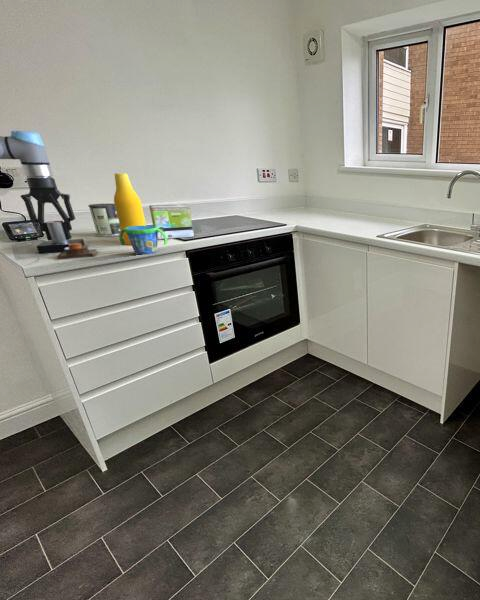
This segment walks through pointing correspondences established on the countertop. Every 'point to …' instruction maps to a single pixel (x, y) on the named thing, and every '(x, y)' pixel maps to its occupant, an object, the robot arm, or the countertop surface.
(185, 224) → the tea box
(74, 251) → the button block
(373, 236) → the countertop surface
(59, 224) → the dial
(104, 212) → the coffee can
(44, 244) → the control panel
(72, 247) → the button
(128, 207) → the beer bottle
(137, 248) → the snack cup
